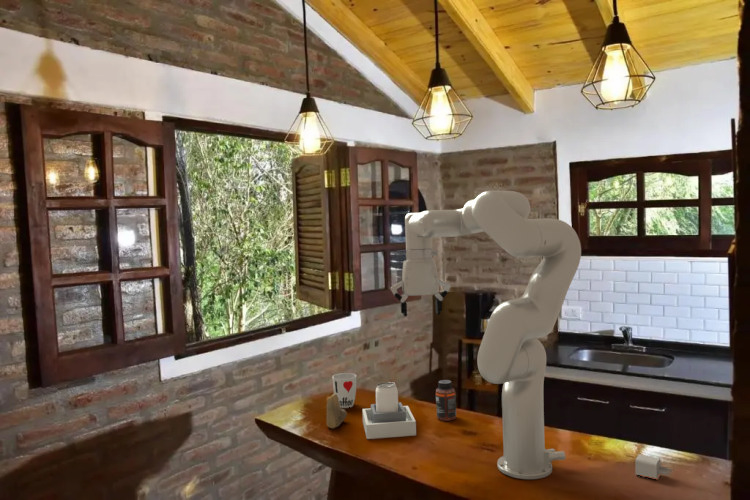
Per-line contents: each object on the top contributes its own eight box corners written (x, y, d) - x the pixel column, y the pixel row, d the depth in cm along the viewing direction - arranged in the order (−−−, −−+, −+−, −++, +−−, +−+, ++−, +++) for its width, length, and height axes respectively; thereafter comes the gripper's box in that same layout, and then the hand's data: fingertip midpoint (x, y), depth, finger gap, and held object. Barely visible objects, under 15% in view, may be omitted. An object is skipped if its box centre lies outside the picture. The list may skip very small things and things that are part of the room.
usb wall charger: (640, 470, 126) (639, 453, 126) (673, 477, 122) (673, 460, 122) (635, 476, 123) (635, 459, 123) (669, 484, 119) (669, 466, 119)
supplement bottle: (459, 416, 167) (458, 380, 167) (451, 422, 162) (450, 385, 162) (441, 413, 171) (440, 378, 170) (433, 419, 166) (432, 382, 165)
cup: (330, 409, 179) (329, 379, 179) (336, 401, 187) (335, 372, 187) (355, 409, 178) (353, 379, 177) (359, 402, 186) (358, 373, 185)
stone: (334, 431, 159) (333, 397, 159) (320, 429, 161) (319, 396, 161) (348, 421, 167) (347, 389, 167) (335, 419, 169) (333, 387, 169)
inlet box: (408, 418, 167) (407, 399, 167) (416, 435, 153) (415, 414, 153) (362, 421, 166) (362, 402, 166) (366, 439, 152) (365, 417, 152)
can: (396, 429, 156) (395, 388, 155) (374, 428, 157) (373, 387, 157) (400, 421, 162) (399, 381, 161) (379, 421, 163) (377, 381, 163)
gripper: (445, 253, 161) (448, 311, 161) (387, 256, 159) (390, 314, 160) (452, 254, 153) (454, 315, 154) (391, 257, 152) (393, 318, 152)
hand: (421, 314), depth 157 cm, fingers open, 9 cm apart
